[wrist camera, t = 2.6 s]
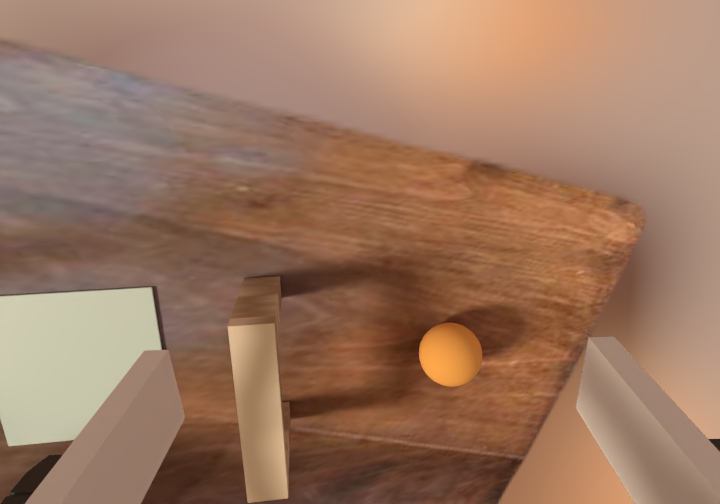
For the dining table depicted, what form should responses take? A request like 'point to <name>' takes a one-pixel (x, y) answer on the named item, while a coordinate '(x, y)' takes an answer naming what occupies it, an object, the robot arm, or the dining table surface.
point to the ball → (450, 354)
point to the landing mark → (68, 357)
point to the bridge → (260, 389)
